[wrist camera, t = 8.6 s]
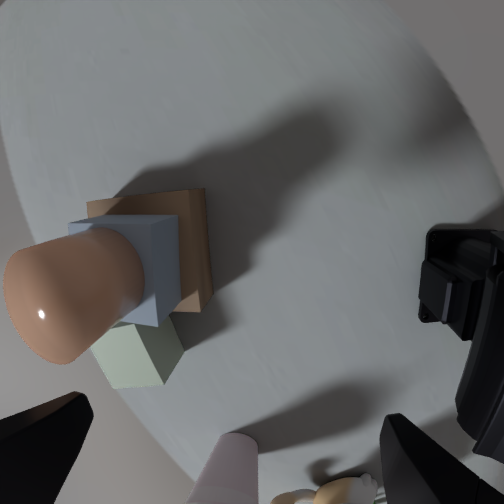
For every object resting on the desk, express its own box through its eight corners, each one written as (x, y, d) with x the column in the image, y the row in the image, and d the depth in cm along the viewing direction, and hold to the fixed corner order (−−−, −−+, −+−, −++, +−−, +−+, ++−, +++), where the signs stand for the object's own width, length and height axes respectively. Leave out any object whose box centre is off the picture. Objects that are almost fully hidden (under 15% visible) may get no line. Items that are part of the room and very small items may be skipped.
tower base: (206, 188, 19) (188, 189, 16) (214, 291, 21) (200, 312, 18) (114, 197, 20) (86, 202, 17) (126, 290, 22) (102, 307, 19)
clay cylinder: (137, 223, 13) (65, 244, 8) (152, 317, 14) (98, 372, 9) (64, 231, 14) (-6, 252, 9) (81, 314, 15) (22, 355, 10)
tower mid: (178, 214, 16) (150, 224, 13) (181, 300, 18) (158, 326, 14) (103, 214, 17) (68, 223, 14) (110, 292, 18) (79, 313, 15)
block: (162, 297, 21) (133, 323, 17) (185, 350, 22) (164, 384, 18) (115, 309, 22) (83, 334, 18) (138, 358, 23) (113, 388, 19)
